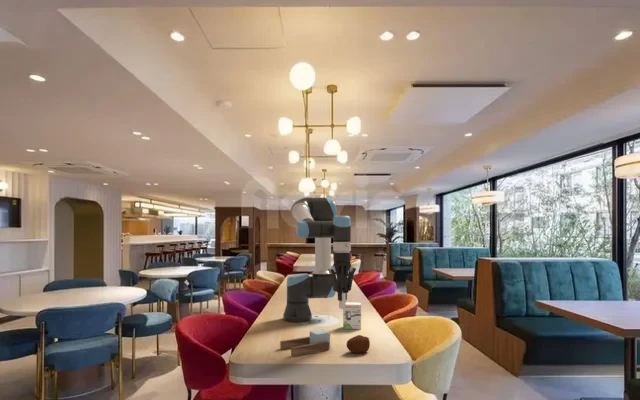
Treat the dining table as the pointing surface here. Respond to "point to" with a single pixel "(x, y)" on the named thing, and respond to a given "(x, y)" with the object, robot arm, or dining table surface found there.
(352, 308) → the ink box
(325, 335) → the block
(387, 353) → the dining table surface
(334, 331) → the dining table surface
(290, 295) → the robot arm
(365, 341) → the potato
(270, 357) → the dining table surface
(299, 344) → the pair of wooden slats
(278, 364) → the dining table surface
